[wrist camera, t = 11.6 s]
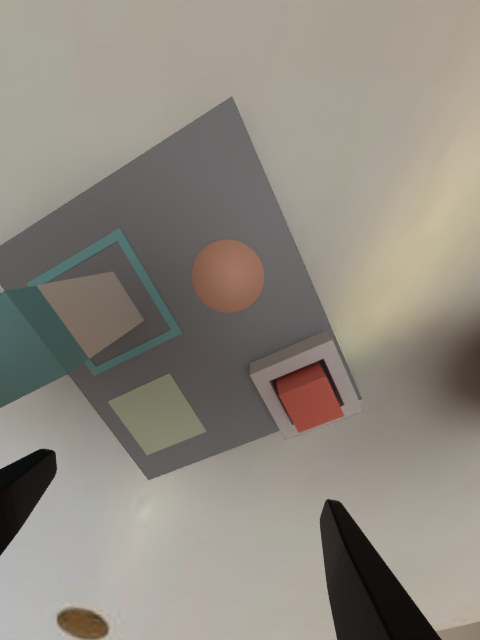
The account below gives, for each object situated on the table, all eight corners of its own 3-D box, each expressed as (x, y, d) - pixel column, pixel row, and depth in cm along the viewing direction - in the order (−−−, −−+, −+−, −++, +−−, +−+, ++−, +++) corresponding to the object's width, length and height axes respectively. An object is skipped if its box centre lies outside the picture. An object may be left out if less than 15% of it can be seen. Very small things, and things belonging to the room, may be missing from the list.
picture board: (357, 393, 20) (372, 414, 18) (151, 472, 23) (140, 499, 21) (233, 103, 15) (229, 75, 12) (-8, 258, 18) (-49, 259, 16)
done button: (334, 397, 18) (344, 415, 16) (293, 413, 19) (298, 432, 17) (317, 361, 17) (326, 376, 15) (275, 379, 18) (278, 395, 16)
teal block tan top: (144, 320, 18) (67, 373, 11) (101, 342, 19) (-1, 407, 11) (113, 271, 17) (4, 291, 10) (68, 296, 18) (-66, 333, 10)
